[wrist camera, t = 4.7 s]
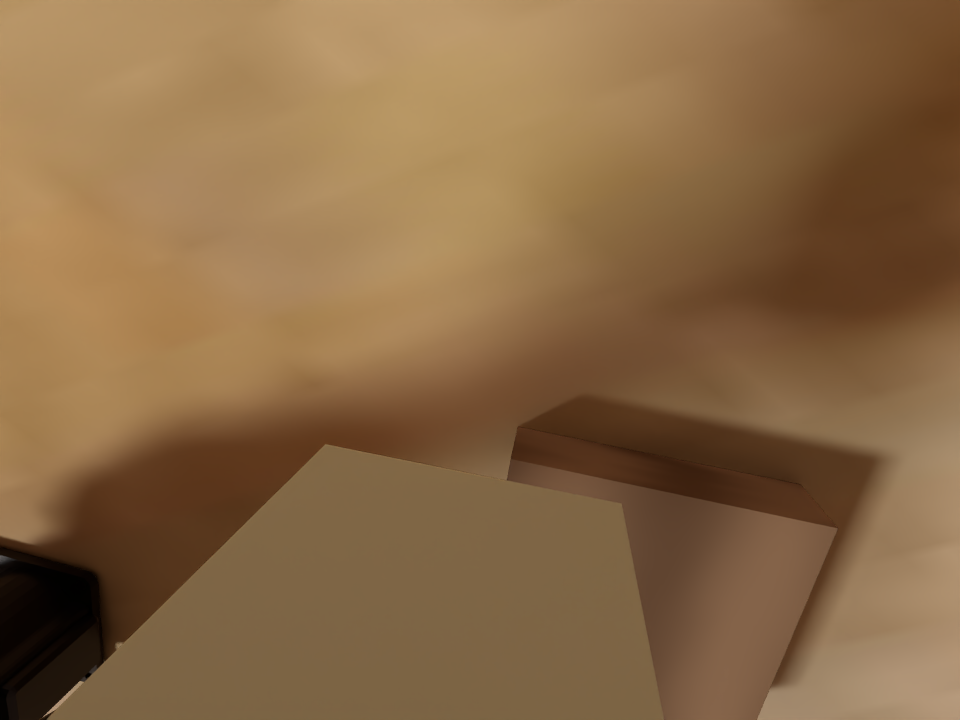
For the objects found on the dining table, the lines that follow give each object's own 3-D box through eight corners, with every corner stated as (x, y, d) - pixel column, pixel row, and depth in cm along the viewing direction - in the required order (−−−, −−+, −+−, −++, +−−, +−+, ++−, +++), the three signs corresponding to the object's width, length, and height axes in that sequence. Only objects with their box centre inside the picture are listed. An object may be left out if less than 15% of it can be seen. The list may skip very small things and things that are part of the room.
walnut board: (479, 630, 22) (466, 692, 20) (518, 422, 19) (510, 459, 17) (714, 689, 21) (738, 763, 19) (795, 478, 18) (837, 528, 16)
